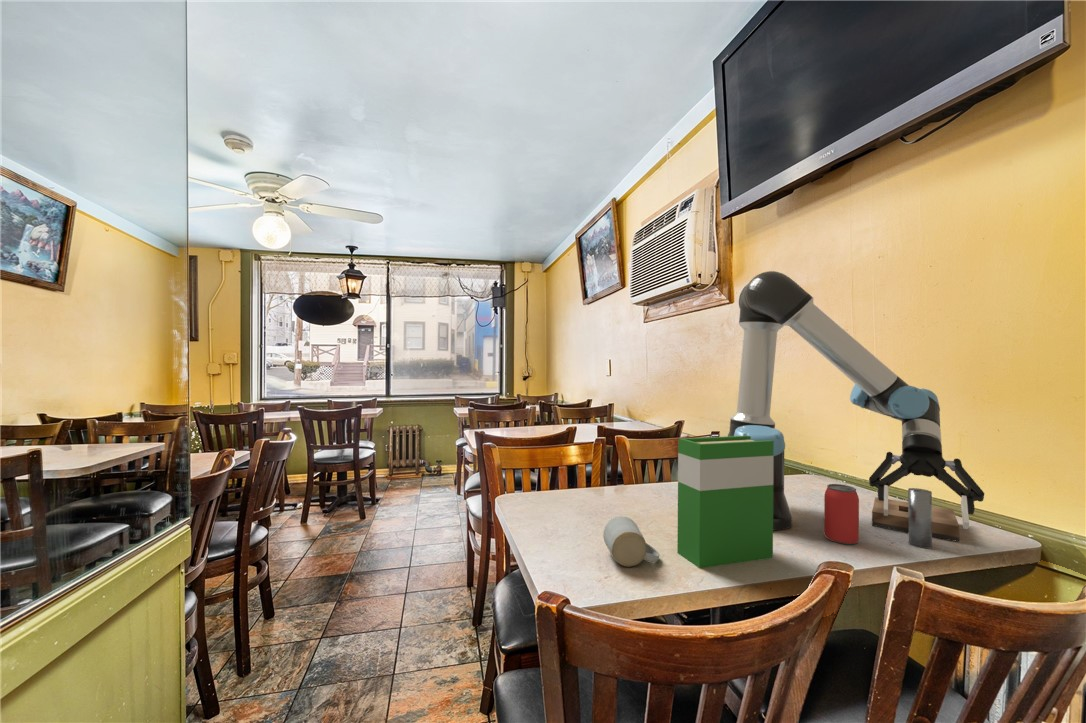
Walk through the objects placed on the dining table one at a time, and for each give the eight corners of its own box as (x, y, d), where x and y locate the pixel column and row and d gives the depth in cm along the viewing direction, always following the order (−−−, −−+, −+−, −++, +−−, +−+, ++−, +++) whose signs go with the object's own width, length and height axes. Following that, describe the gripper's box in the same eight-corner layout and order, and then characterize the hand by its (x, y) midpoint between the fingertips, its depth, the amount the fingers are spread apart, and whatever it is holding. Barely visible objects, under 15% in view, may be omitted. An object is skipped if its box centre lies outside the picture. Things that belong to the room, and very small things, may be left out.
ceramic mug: (611, 569, 87) (612, 529, 87) (602, 552, 95) (603, 515, 95) (665, 569, 88) (666, 529, 88) (651, 551, 96) (652, 515, 96)
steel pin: (908, 544, 100) (908, 490, 101) (908, 539, 104) (908, 487, 104) (932, 549, 98) (932, 493, 98) (931, 544, 101) (931, 490, 101)
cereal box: (746, 544, 100) (747, 435, 100) (772, 557, 93) (773, 441, 93) (677, 553, 95) (678, 438, 95) (699, 568, 88) (700, 444, 88)
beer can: (864, 546, 99) (864, 491, 99) (831, 544, 101) (831, 489, 101) (850, 535, 106) (850, 484, 106) (819, 533, 107) (819, 482, 107)
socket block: (872, 525, 113) (872, 511, 113) (875, 510, 125) (875, 497, 125) (959, 541, 103) (959, 526, 103) (953, 522, 115) (953, 509, 115)
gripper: (989, 457, 107) (1001, 541, 95) (860, 445, 122) (856, 515, 110) (993, 437, 102) (1006, 522, 91) (859, 427, 118) (855, 499, 106)
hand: (924, 519), depth 100 cm, fingers open, 13 cm apart
